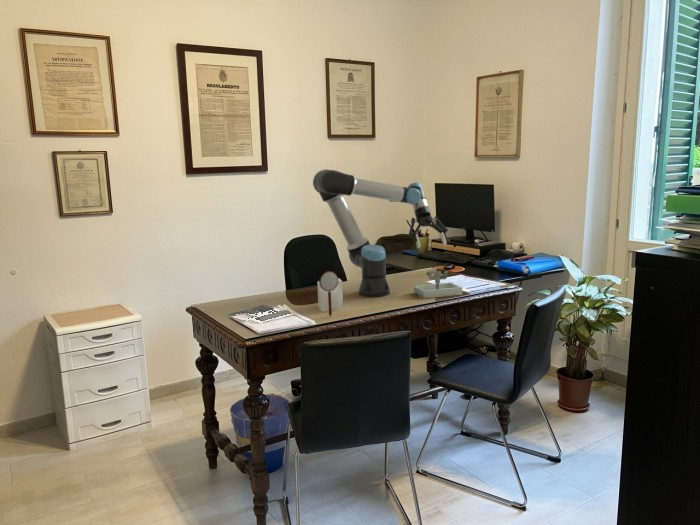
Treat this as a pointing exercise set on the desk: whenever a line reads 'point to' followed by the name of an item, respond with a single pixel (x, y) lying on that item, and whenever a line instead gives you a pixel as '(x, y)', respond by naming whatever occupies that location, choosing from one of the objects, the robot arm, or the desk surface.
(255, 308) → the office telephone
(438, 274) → the mechanical component
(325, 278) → the magnifying glass
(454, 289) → the keeper cradle
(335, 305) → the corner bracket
